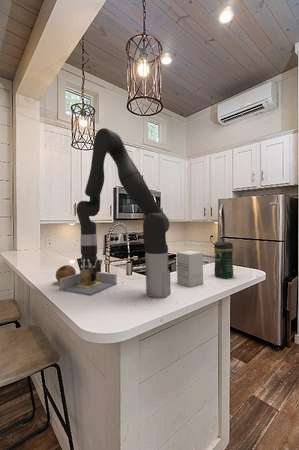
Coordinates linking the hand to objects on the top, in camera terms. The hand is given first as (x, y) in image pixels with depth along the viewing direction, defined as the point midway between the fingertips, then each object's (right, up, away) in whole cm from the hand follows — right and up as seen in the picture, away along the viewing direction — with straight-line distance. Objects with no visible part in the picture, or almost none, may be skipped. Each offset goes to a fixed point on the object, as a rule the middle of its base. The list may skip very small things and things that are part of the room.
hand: (89, 280), depth 109 cm
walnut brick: (0, -1, 0) cm, 1 cm away
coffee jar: (+67, -1, +14) cm, 69 cm away
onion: (-13, -3, +7) cm, 15 cm away
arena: (0, -3, -2) cm, 3 cm away
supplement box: (+47, -2, +2) cm, 47 cm away
